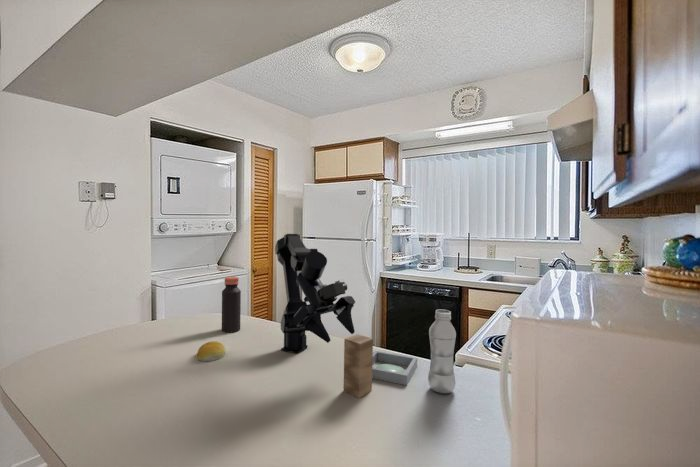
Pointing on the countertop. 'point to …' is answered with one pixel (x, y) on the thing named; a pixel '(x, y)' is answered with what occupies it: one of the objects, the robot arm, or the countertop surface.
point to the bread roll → (211, 351)
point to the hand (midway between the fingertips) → (341, 337)
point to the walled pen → (393, 367)
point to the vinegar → (231, 306)
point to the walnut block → (358, 365)
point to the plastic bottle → (442, 353)
